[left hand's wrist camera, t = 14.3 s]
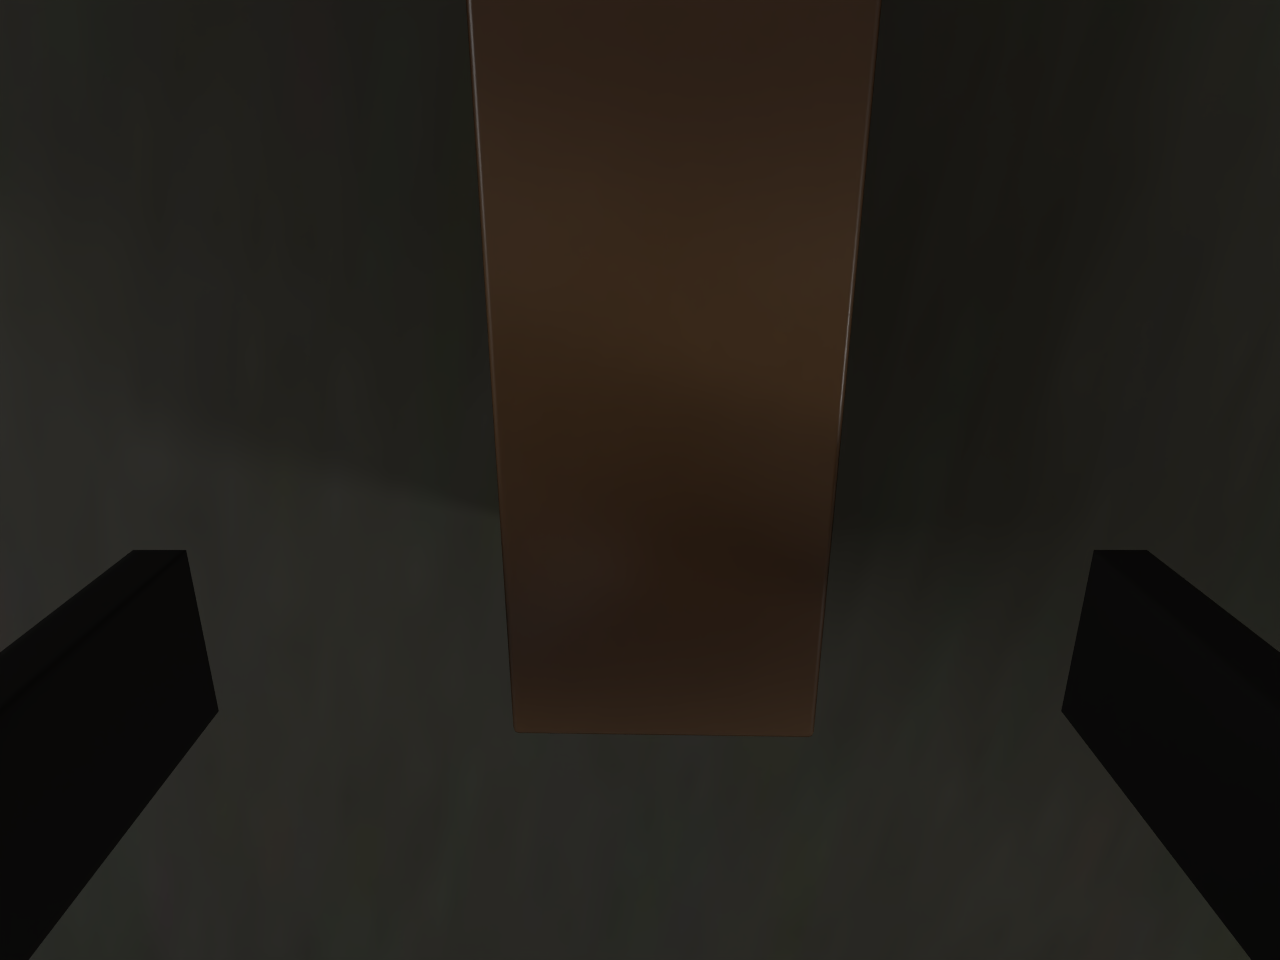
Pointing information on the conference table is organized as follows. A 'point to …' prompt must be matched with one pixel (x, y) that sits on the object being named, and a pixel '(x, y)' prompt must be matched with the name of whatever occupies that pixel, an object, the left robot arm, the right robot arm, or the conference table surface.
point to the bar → (669, 347)
